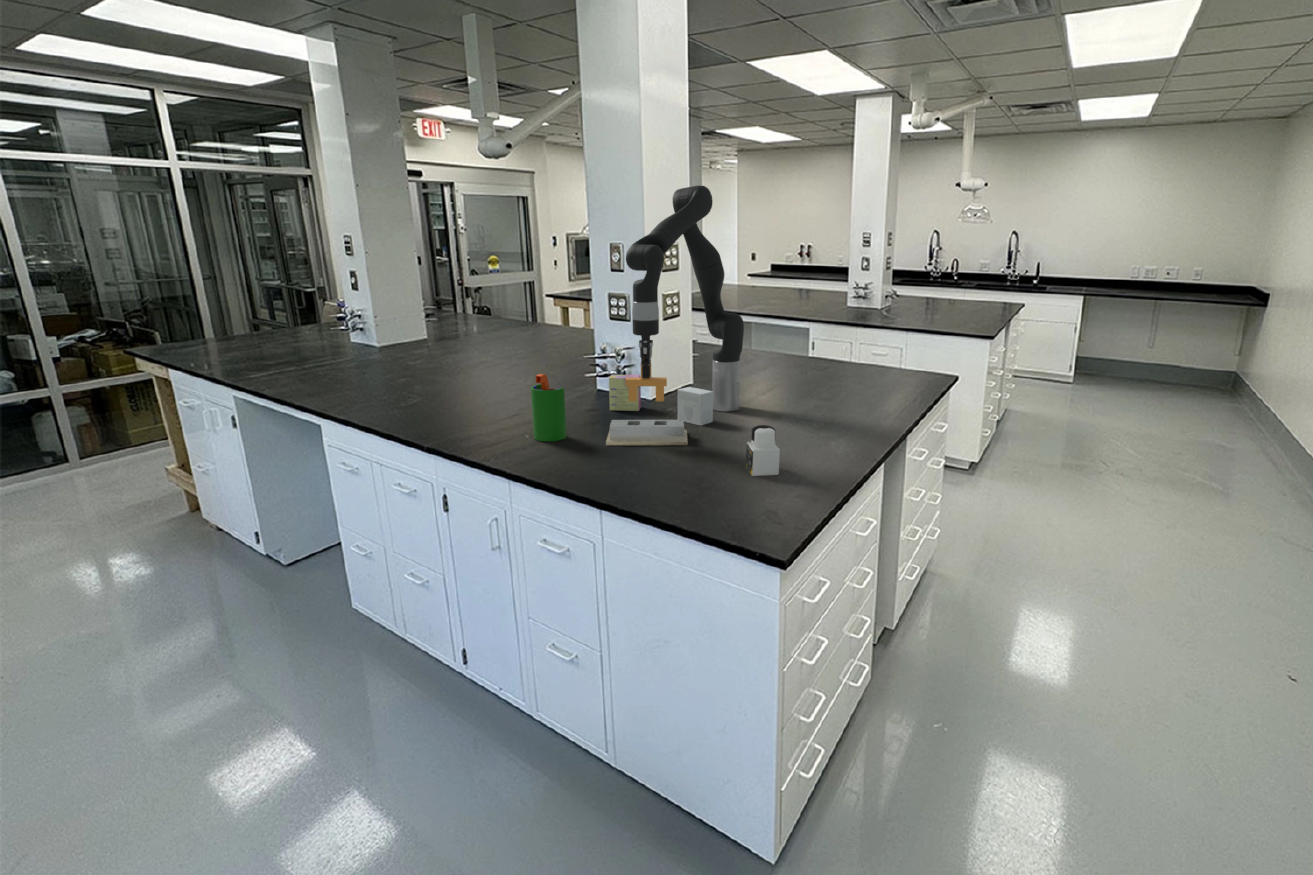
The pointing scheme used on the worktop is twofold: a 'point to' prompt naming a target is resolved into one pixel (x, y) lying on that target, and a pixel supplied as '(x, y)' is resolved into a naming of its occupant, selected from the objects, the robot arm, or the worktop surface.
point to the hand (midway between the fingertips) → (646, 376)
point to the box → (622, 394)
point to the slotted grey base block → (647, 432)
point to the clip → (640, 381)
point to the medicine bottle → (762, 452)
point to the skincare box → (695, 405)
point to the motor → (548, 411)
